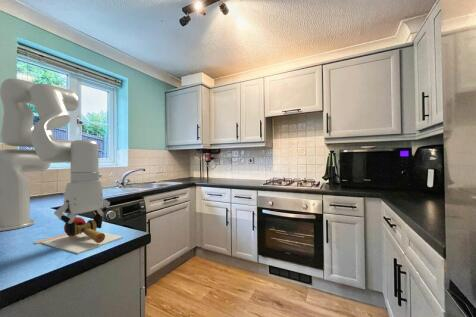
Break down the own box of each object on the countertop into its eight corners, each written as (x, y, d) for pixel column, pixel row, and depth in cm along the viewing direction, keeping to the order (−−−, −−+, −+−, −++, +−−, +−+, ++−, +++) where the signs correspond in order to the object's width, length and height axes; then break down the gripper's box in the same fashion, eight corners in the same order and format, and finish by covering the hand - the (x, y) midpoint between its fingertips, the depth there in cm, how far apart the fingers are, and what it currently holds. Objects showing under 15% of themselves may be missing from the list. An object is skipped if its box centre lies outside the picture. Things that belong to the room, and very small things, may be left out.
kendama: (115, 240, 70) (85, 225, 79) (111, 223, 69) (81, 210, 77) (90, 255, 64) (60, 237, 72) (85, 237, 62) (55, 220, 70)
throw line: (33, 243, 69) (33, 242, 69) (86, 228, 83) (86, 228, 83) (36, 244, 68) (36, 243, 68) (89, 229, 83) (89, 228, 83)
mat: (41, 243, 69) (41, 242, 69) (87, 230, 81) (87, 229, 81) (78, 254, 60) (78, 252, 60) (123, 237, 73) (123, 236, 73)
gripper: (103, 175, 80) (103, 222, 80) (46, 179, 64) (46, 238, 64) (117, 176, 77) (117, 225, 77) (60, 180, 61) (60, 242, 61)
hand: (84, 230), depth 70 cm, fingers open, 7 cm apart
